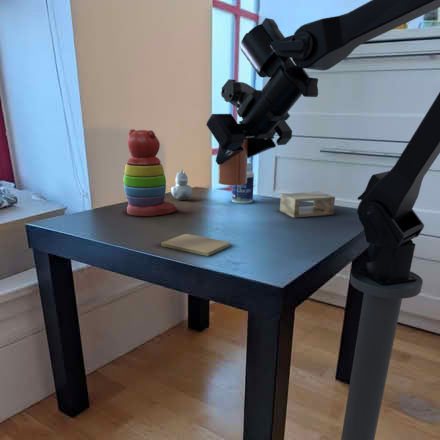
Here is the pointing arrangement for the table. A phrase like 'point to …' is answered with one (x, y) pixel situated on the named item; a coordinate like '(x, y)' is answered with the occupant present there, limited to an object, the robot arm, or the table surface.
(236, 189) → the pill bottle
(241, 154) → the cylinder
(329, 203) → the box
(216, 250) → the cork mat
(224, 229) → the table surface
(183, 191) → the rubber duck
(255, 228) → the table surface
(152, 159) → the stacking bear
